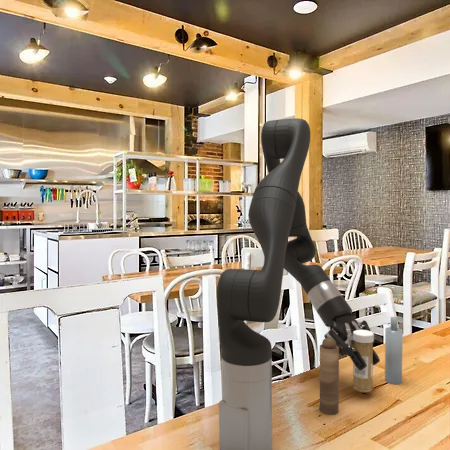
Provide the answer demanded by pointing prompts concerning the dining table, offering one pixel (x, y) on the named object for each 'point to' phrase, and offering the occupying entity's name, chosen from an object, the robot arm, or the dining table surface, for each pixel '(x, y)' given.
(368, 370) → the sprinkles bottle
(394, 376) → the ceramic cruet
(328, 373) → the pepper mill
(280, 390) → the dining table surface
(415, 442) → the dining table surface
